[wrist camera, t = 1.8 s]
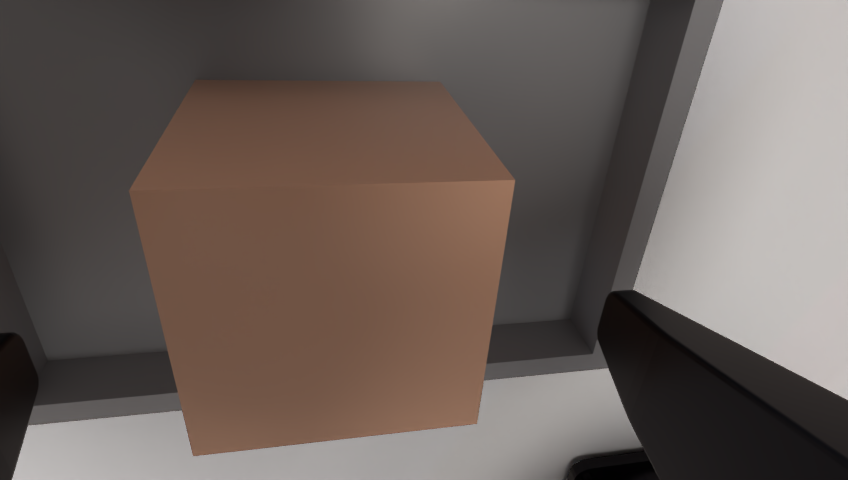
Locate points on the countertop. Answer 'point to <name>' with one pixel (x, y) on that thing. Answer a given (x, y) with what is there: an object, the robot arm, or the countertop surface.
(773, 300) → the countertop surface
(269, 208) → the brown cube
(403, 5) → the bin
